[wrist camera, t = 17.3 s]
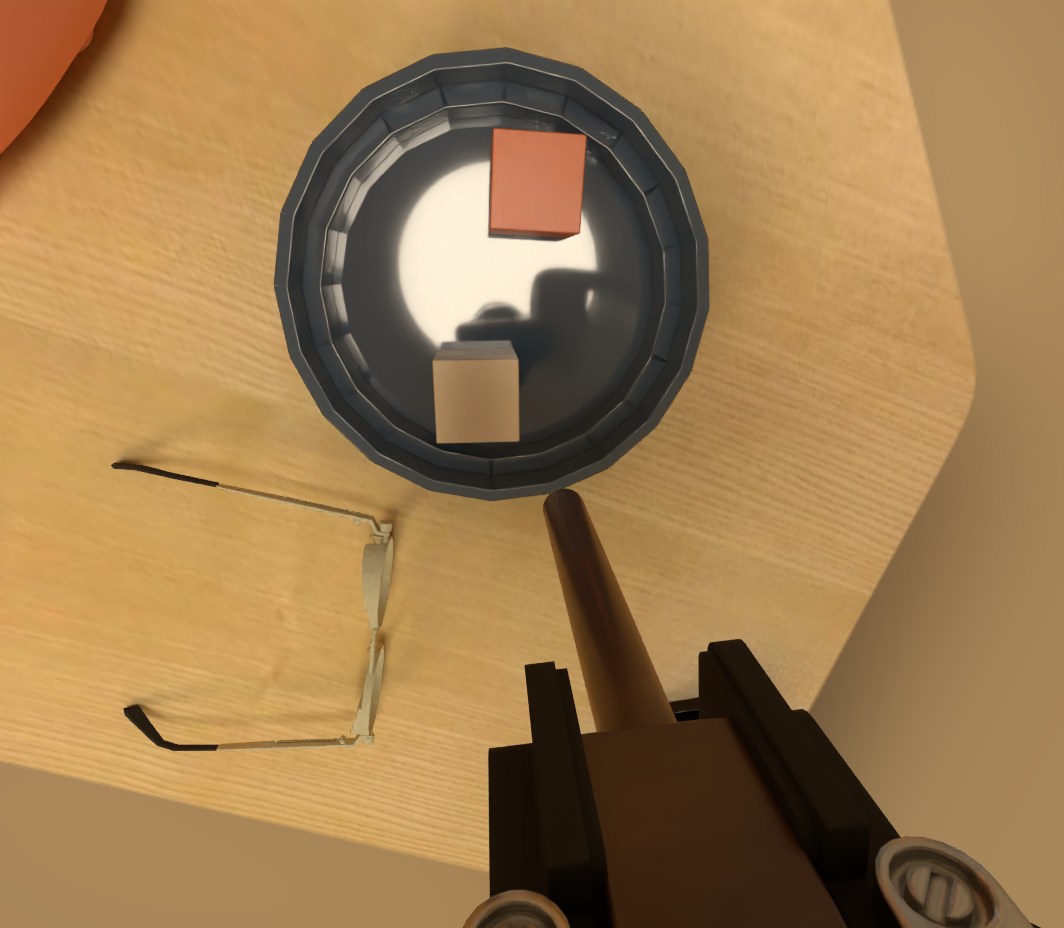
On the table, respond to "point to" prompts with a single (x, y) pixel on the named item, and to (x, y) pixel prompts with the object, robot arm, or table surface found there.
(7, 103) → the teapot
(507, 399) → the cube
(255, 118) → the table surface
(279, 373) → the table surface
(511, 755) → the robot arm
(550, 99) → the bowl
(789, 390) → the table surface
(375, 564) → the eyeglasses
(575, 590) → the stick
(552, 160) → the cube
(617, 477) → the table surface
